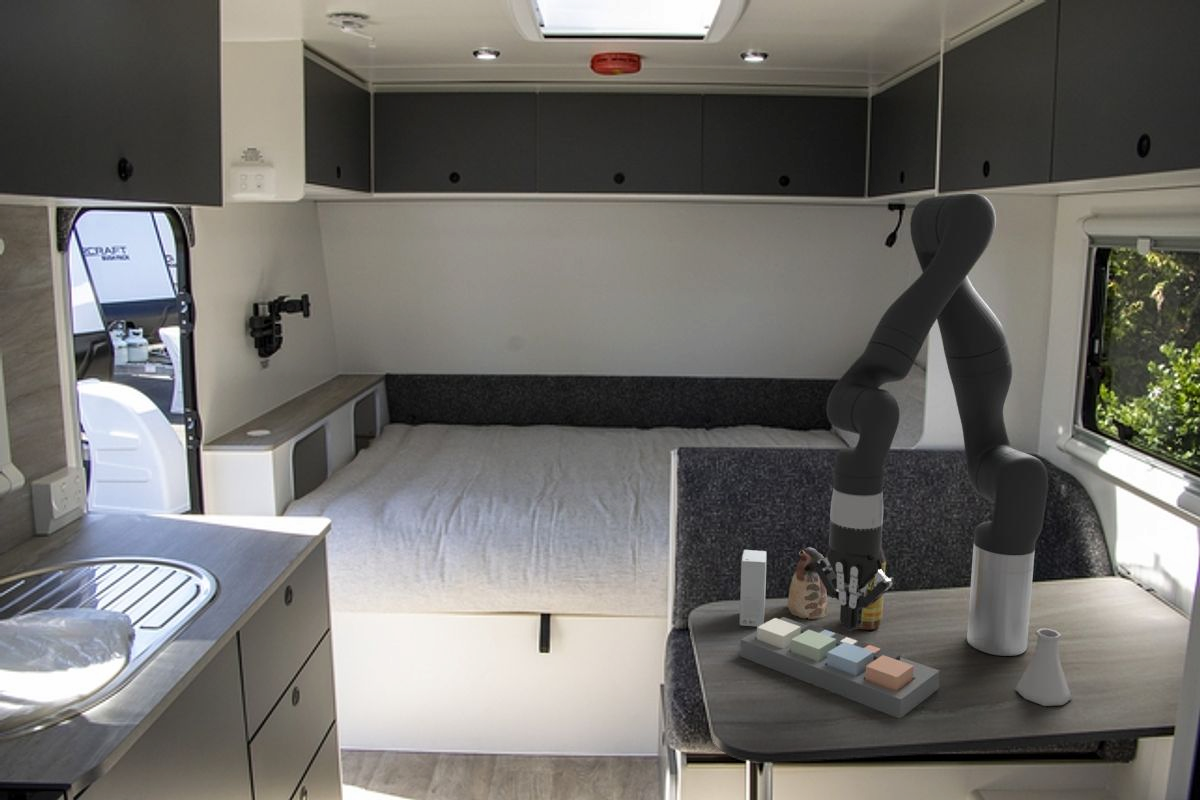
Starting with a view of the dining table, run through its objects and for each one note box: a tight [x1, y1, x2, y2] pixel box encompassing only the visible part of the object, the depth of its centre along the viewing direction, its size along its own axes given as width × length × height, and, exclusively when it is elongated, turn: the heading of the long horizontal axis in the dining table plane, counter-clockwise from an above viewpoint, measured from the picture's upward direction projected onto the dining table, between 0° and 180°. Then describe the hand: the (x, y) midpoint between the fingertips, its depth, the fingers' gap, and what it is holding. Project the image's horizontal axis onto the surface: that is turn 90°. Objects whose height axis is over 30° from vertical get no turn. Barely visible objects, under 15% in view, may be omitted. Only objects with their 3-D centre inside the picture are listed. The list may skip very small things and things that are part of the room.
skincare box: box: [739, 549, 767, 628], centre depth 169 cm, size 6×4×12 cm
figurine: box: [787, 546, 829, 620], centre depth 172 cm, size 7×7×12 cm
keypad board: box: [739, 616, 941, 720], centre depth 150 cm, size 12×28×4 cm, turn 45°
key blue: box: [827, 642, 874, 676], centre depth 147 cm, size 5×5×2 cm
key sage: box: [791, 630, 836, 662], centre depth 151 cm, size 5×5×2 cm
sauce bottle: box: [856, 545, 887, 631], centre depth 166 cm, size 6×6×20 cm
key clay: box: [865, 655, 914, 692], centre depth 142 cm, size 5×5×2 cm
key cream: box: [756, 617, 801, 649], centre depth 155 cm, size 5×5×2 cm
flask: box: [1014, 627, 1072, 707], centre depth 142 cm, size 7×7×10 cm
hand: (850, 627), depth 146 cm, fingers closed
